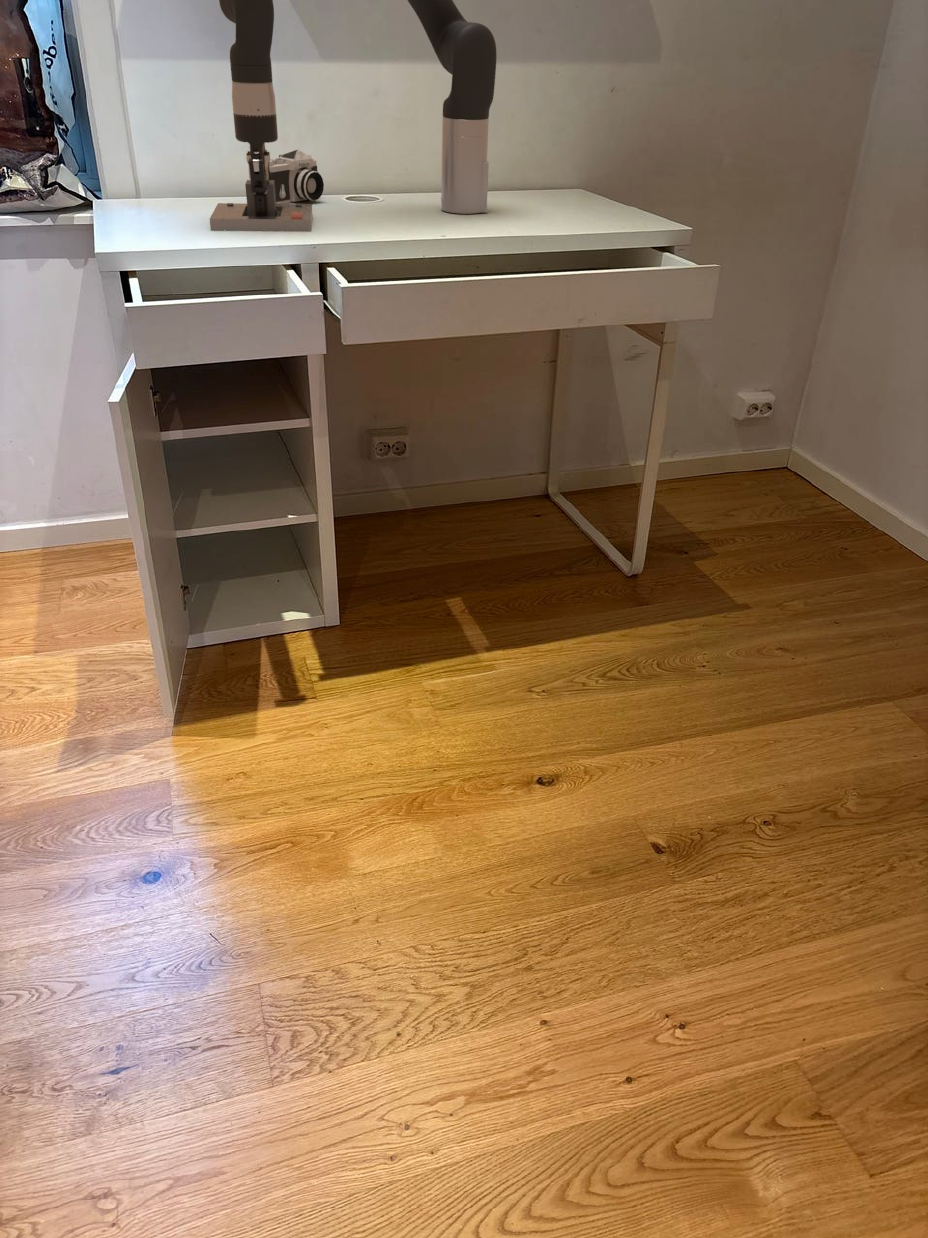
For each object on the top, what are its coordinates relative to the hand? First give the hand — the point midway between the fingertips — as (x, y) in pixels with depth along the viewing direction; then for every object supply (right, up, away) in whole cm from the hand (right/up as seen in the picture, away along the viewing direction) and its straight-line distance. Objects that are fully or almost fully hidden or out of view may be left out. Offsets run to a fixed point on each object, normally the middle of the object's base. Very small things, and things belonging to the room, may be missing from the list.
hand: (262, 213), depth 176 cm
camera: (+2, +12, +23) cm, 26 cm away
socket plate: (0, -2, +1) cm, 2 cm away
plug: (0, -1, 0) cm, 1 cm away
